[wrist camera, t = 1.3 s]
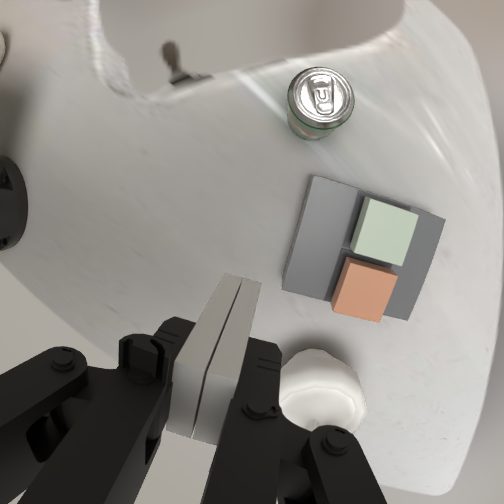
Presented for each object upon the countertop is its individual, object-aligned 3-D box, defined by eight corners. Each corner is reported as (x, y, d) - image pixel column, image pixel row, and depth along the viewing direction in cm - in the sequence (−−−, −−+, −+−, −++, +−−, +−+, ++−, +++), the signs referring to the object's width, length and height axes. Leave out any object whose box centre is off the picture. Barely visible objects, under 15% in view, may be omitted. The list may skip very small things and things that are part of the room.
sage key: (349, 246, 29) (353, 252, 27) (365, 196, 28) (370, 198, 26) (395, 260, 29) (401, 266, 27) (410, 212, 28) (418, 215, 26)
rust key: (330, 302, 31) (332, 311, 29) (346, 256, 30) (350, 262, 28) (374, 313, 31) (379, 322, 29) (391, 269, 29) (398, 276, 27)
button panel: (282, 276, 37) (281, 290, 33) (311, 174, 33) (314, 175, 29) (397, 305, 36) (408, 321, 32) (430, 213, 33) (446, 219, 29)
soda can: (330, 94, 31) (350, 60, 19) (337, 138, 32) (362, 125, 20) (284, 98, 31) (282, 65, 20) (290, 143, 33) (293, 131, 21)
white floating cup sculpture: (249, 359, 40) (211, 531, 16) (325, 313, 37) (358, 495, 13) (302, 414, 42) (300, 567, 18) (372, 376, 39) (416, 534, 15)
